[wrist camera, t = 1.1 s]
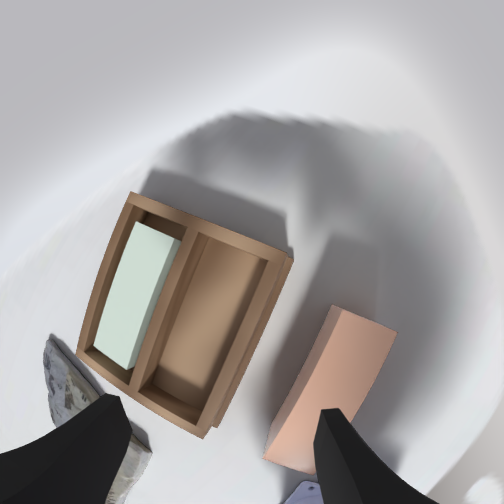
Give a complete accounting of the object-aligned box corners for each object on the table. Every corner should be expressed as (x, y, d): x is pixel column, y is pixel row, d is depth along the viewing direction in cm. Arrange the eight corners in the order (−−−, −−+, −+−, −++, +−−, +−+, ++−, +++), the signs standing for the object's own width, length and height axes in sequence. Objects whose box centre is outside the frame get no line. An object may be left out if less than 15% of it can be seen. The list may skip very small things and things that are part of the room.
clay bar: (374, 321, 18) (397, 332, 13) (311, 438, 17) (313, 475, 12) (331, 303, 18) (342, 309, 14) (271, 423, 18) (262, 458, 13)
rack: (294, 260, 19) (293, 255, 16) (219, 423, 18) (208, 441, 15) (146, 201, 22) (126, 189, 19) (94, 347, 21) (72, 352, 18)
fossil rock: (122, 511, 19) (112, 520, 17) (37, 434, 22) (25, 439, 20) (166, 434, 19) (154, 446, 17) (54, 337, 22) (38, 339, 20)
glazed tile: (186, 243, 20) (174, 238, 18) (140, 363, 19) (126, 369, 17) (149, 226, 20) (136, 221, 18) (108, 342, 20) (93, 345, 18)
